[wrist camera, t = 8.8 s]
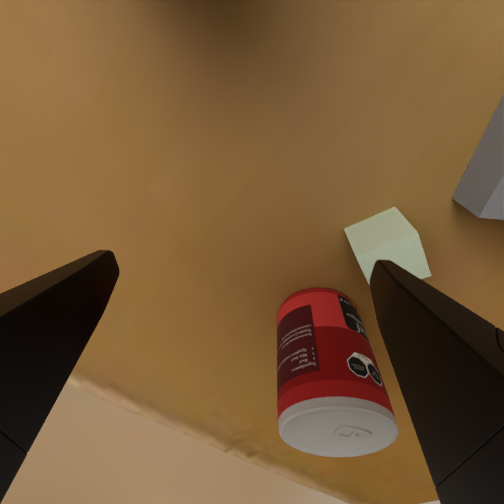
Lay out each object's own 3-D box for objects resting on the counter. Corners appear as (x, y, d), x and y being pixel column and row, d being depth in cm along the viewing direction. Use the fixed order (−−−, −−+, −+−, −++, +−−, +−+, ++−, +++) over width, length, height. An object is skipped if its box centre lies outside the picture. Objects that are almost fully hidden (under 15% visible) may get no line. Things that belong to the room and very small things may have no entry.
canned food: (354, 336, 29) (391, 459, 20) (279, 339, 30) (282, 457, 21) (360, 282, 25) (410, 407, 16) (273, 287, 26) (272, 407, 17)
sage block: (343, 228, 22) (355, 256, 18) (394, 205, 20) (417, 232, 17) (360, 263, 24) (373, 295, 20) (408, 244, 22) (431, 275, 19)
